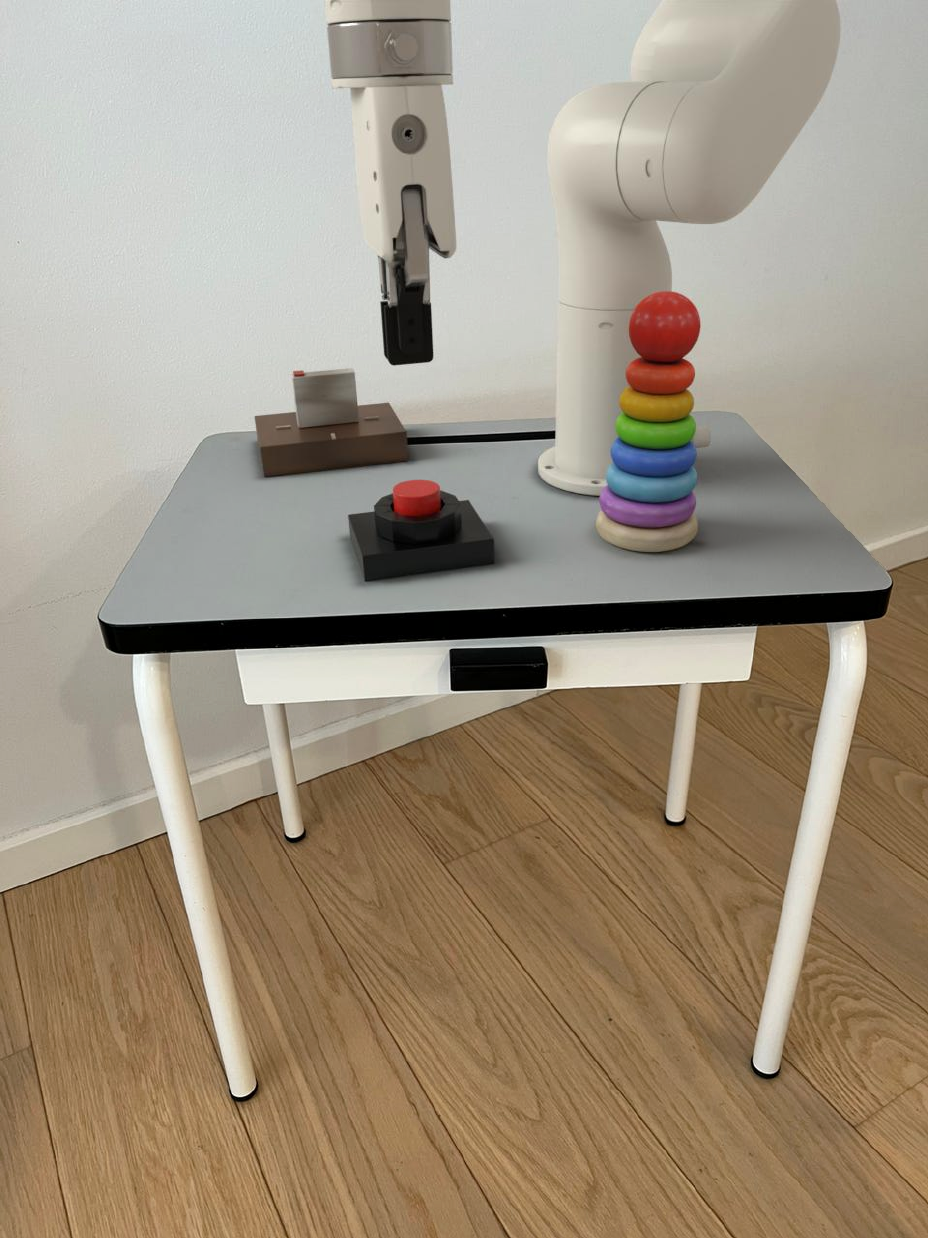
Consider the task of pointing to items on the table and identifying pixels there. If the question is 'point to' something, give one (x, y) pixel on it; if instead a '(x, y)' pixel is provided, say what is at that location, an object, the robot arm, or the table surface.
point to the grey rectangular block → (325, 397)
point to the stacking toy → (654, 433)
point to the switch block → (419, 539)
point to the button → (416, 497)
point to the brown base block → (330, 442)
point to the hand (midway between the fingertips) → (408, 359)
